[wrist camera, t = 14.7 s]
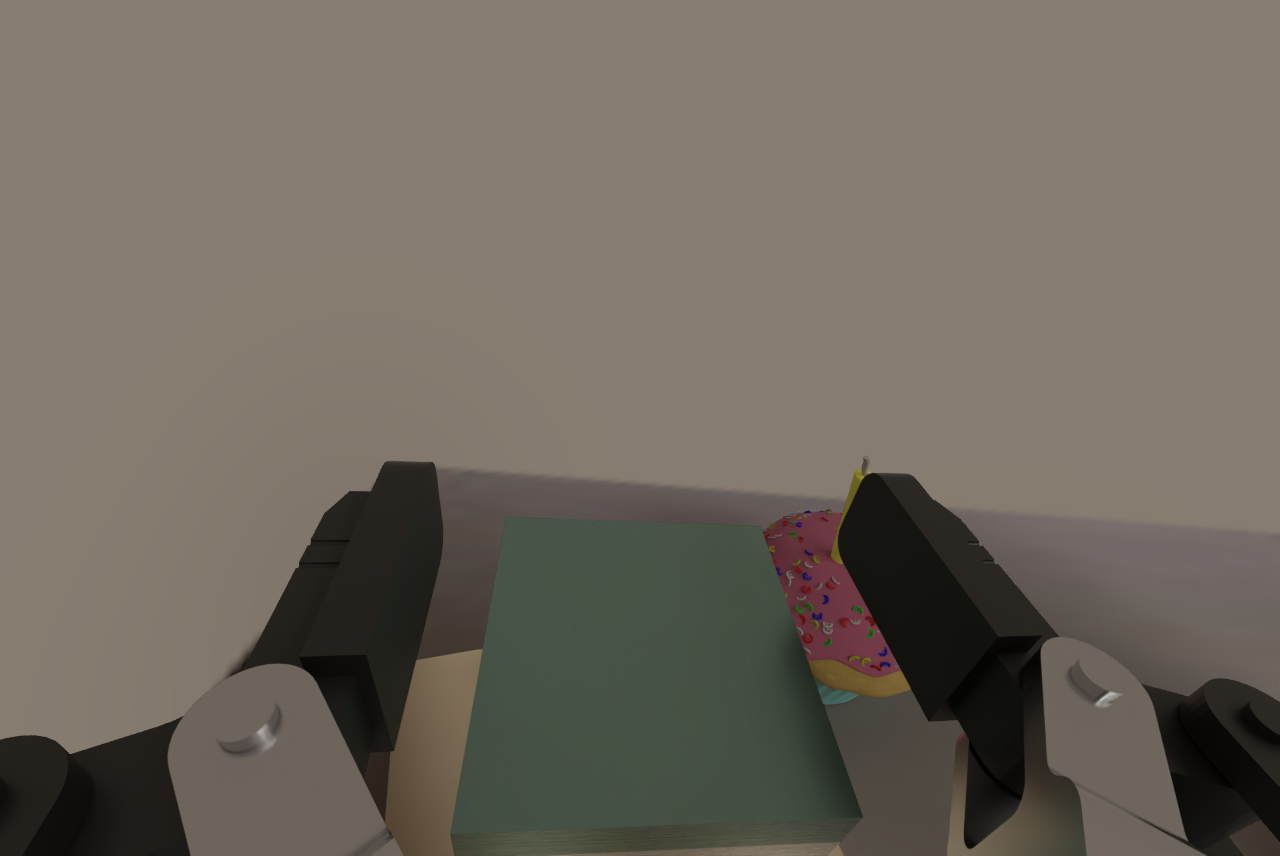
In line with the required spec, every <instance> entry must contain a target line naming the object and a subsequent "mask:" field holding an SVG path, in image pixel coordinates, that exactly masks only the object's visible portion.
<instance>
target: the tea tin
mask: <svg viewBox="0 0 1280 856" xmlns="http://www.w3.org/2000/svg"><path fill="white" fill-rule="evenodd" d="M862 818H863V816H862V813H861V810H860V807H859V805H858V802H857V799H856V796H855V793H854V790H853V788H852V785H851V782H850V779H849V776H848V773H847V770H846V768H845V765H844V762H843V759H842V756H841V753H840V751H839V748H838V745H837V742H836V739H835V736H834V734H833V731H832V728H831V725H830V722H829V719H828V716H827V714H826V711H825V708H824V705H823V702H822V699H821V697H820V694H819V691H818V688H817V685H816V682H815V680H814V677H813V674H812V671H811V668H810V665H809V662H808V660H807V657H806V654H805V651H804V648H803V645H802V643H801V640H800V637H799V634H798V631H797V628H796V625H795V623H794V620H793V617H792V614H791V611H790V608H789V606H788V603H787V600H786V597H785V594H784V591H783V589H782V586H781V583H780V580H779V577H778V574H777V571H776V569H775V566H774V563H773V560H772V557H771V554H770V552H769V549H768V546H767V543H766V540H765V537H764V535H763V532H762V529H761V526H738V525H711V524H685V523H658V522H631V521H604V520H577V519H550V518H523V517H506V519H505V525H504V531H503V536H502V542H501V548H500V553H499V559H498V565H497V570H496V576H495V582H494V587H493V593H492V599H491V604H490V610H489V616H488V621H487V627H486V633H485V638H484V644H483V650H482V655H481V661H480V667H479V672H478V678H477V684H476V689H475V695H474V701H473V706H472V712H471V718H470V723H469V729H468V735H467V740H466V746H465V752H464V757H463V763H462V769H461V775H460V780H459V786H458V792H457V797H456V803H455V809H454V814H453V820H452V826H451V831H450V837H451V842H452V847H453V852H454V856H828V855H829V854H830V853H831V852H832V850H833V849H834V848H835V847H836V846H837V845H838V844H839V843H840V842H841V841H842V840H843V838H844V837H845V836H846V835H847V834H848V833H849V832H850V831H851V830H852V829H853V828H854V827H855V825H856V824H857V823H858V822H859V821H860V820H861V819H862Z"/></svg>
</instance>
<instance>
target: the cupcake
mask: <svg viewBox="0 0 1280 856" xmlns="http://www.w3.org/2000/svg"><path fill="white" fill-rule="evenodd" d="M863 459H864V461H863V464H862V469H858V470H856V471H855V473H854V476H853V480H852V483H851V487H850V490H849V494H848V497H847V501H846V504H845V508H844V511H843V513H836V512H833V511H832V510H831V509H827V510H826V512H825V511H820V512H810V511H806V512H804V513H800V512H799V511H798V512H797V513H796V515H794V514H790V515H791V516H785V517H783V519H780V520H779V521H777V522H775V523H774V524H770V525H769V527H768V528H767V529H766V530H762V532H763V535H764V537H765V540H766V543H767V546H768V549H769V552H770V554H771V557H772V560H773V563H774V566H775V569H776V571H777V574H778V577H779V580H780V583H781V586H782V589H783V591H784V594H785V597H786V600H787V603H788V606H789V608H790V611H791V614H792V617H793V620H794V623H795V625H796V628H797V631H798V634H799V637H800V640H801V643H802V645H803V648H804V651H805V654H806V657H807V660H808V662H809V665H810V668H811V671H812V674H813V677H814V680H815V682H816V685H817V688H818V691H819V694H820V697H821V699H822V702H823V704H828V705H832V704H841V703H844V702H847V701H849V700H851V699H853V698H855V697H857V696H859V695H863V696H868V697H874V698H882V697H889V696H892V695H896V694H900V693H903V692H906V691H908V690H910V689H911V688H910V686H909V684H908V682H907V680H906V679H905V677H904V675H903V673H902V671H901V669H900V667H899V666H898V664H897V662H896V660H895V658H894V656H893V654H892V653H891V651H890V649H889V647H888V645H887V643H886V642H885V640H884V638H883V636H882V634H881V632H880V630H879V629H878V627H877V625H876V623H875V621H874V619H873V617H872V616H871V614H870V612H869V610H868V608H867V606H866V604H865V603H864V601H863V599H862V597H861V595H860V593H859V591H858V590H857V588H856V586H855V584H854V582H853V580H852V578H851V577H850V575H849V573H848V571H847V569H846V567H845V566H844V564H843V562H842V560H841V557H840V554H839V550H838V533H839V529H840V527H841V524H842V522H843V520H844V518H845V516H846V514H847V511H848V509H849V507H850V505H851V503H852V500H853V498H854V496H855V494H856V492H857V490H858V487H859V485H860V483H861V481H862V479H863V478H864V477H865V476H866V475H867V474H869V473H872V472H870V471H869V470H868V467H869V463H870V459H869V457H868V456H864V458H863ZM828 511H830V512H828Z"/></svg>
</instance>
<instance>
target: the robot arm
mask: <svg viewBox="0 0 1280 856" xmlns="http://www.w3.org/2000/svg"><path fill="white" fill-rule="evenodd" d="M442 546H443V523H442V515H441V507H440V499H439V490H438V482H437V474H436V468H435V465H434V463H433V462H404V461H403V462H402V461H387V462H385V463H384V465H383V466H382V468H381V470H380V473H379V475H378V477H377V479H376V482H375V484H374V486H373V489H372V491H371V492H368V491H349V492H348V493H347V494H346V495H345V496H344V497H343V498H341V499H340V500H339V501H338V502H337V503H336V504H335V505H334V506H332V507H331V508H330V509H329V510H328V511H327V512H325V513H324V515H323V517H322V519H321V521H320V523H319V525H318V527H317V529H316V531H315V533H314V534H313V537H312V538H311V544H310V545H308V546H307V548H306V550H305V552H304V554H303V556H302V558H301V560H300V562H299V568H296V569H295V571H294V573H293V575H292V577H291V579H290V581H289V583H288V585H287V587H286V589H285V590H284V593H283V594H282V597H281V598H280V600H279V602H278V604H277V606H276V608H275V610H274V612H273V614H272V616H271V617H270V619H269V621H268V623H267V625H266V627H265V629H264V631H263V633H262V635H261V637H260V639H259V641H258V643H257V645H256V646H255V648H254V650H253V652H252V654H251V656H250V658H249V659H248V661H247V663H246V664H245V666H244V667H243V669H242V670H241V671H240V673H237V674H235V675H233V676H231V677H229V678H227V679H226V680H224V681H222V682H220V683H219V684H217V685H216V686H214V687H213V688H212V689H210V690H209V691H208V692H206V693H205V694H204V695H203V696H202V697H201V698H200V699H198V700H197V701H196V702H195V703H194V705H193V706H192V707H191V708H190V709H189V710H188V711H187V712H186V714H185V715H184V716H183V717H180V718H179V719H176V720H174V721H172V722H169V723H166V724H164V725H161V726H158V727H155V728H152V729H149V730H146V731H143V732H140V733H136V734H133V735H130V736H127V737H124V738H121V739H117V740H114V741H111V742H108V743H105V744H101V745H98V746H95V747H92V748H89V749H86V750H83V751H79V752H76V753H73V754H69V753H68V752H67V751H66V750H65V749H64V748H63V747H62V746H61V745H60V744H58V743H57V742H56V741H54V740H52V739H49V738H47V737H42V736H35V735H33V736H32V735H30V736H17V737H10V738H5V739H2V740H0V856H403V854H402V852H401V850H400V848H399V846H398V844H397V842H396V840H395V838H394V837H393V835H392V833H391V832H390V831H389V830H388V828H387V826H386V824H385V822H384V821H383V819H382V817H381V815H380V813H379V810H378V808H377V806H376V804H375V802H374V800H373V798H372V796H371V794H370V792H369V790H368V788H367V786H366V784H365V782H364V779H363V778H364V774H365V771H366V767H367V764H368V760H369V756H370V753H371V752H387V751H394V750H395V745H396V741H397V737H398V733H399V729H400V725H401V721H402V717H403V713H404V709H405V704H406V700H407V696H408V692H409V688H410V684H411V680H412V676H413V672H414V667H415V663H416V659H417V655H418V651H419V647H420V643H421V639H422V635H423V631H424V626H425V622H426V618H427V614H428V610H429V606H430V602H431V598H432V594H433V589H434V585H435V581H436V577H437V573H438V569H439V565H440V560H441V555H442ZM838 550H839V554H840V557H841V560H842V562H843V564H844V566H845V567H846V569H847V571H848V573H849V575H850V577H851V578H852V580H853V582H854V584H855V586H856V588H857V590H858V591H859V593H860V595H861V597H862V599H863V601H864V603H865V604H866V606H867V608H868V610H869V612H870V614H871V616H872V617H873V619H874V621H875V623H876V625H877V627H878V629H879V630H880V632H881V634H882V636H883V638H884V640H885V642H886V643H887V645H888V647H889V649H890V651H891V653H892V654H893V656H894V658H895V660H896V662H897V664H898V666H899V667H900V669H901V671H902V673H903V675H904V677H905V679H906V680H907V682H908V684H909V686H910V688H911V690H912V692H913V693H914V695H915V697H916V699H917V701H918V703H919V705H920V706H921V708H922V710H923V712H924V714H925V716H926V718H927V719H928V721H929V722H932V721H948V720H958V721H959V723H960V725H961V726H962V728H963V730H964V732H963V733H962V734H961V735H960V736H959V738H958V740H957V744H956V752H955V765H954V777H953V790H952V802H951V814H950V827H949V839H948V849H947V855H946V856H1243V855H1242V853H1241V852H1240V851H1239V849H1238V848H1237V847H1236V846H1235V844H1234V843H1233V842H1232V841H1231V839H1230V838H1229V837H1228V836H1230V835H1232V834H1234V833H1236V832H1237V831H1239V830H1241V829H1243V828H1245V827H1247V826H1249V825H1251V824H1252V823H1254V822H1256V821H1258V820H1260V819H1261V820H1262V822H1263V823H1264V824H1265V825H1266V826H1267V827H1268V829H1269V830H1270V831H1271V832H1272V833H1273V834H1274V836H1275V837H1276V838H1277V839H1278V840H1279V841H1280V702H1279V701H1277V700H1275V699H1274V698H1272V697H1270V696H1269V695H1267V694H1265V693H1263V692H1261V691H1259V690H1258V689H1255V688H1253V687H1251V686H1249V685H1246V684H1243V683H1240V682H1238V681H1234V680H1230V679H1222V678H1218V679H1212V680H1210V681H1208V682H1207V683H1205V684H1204V685H1203V686H1202V687H1200V688H1199V689H1198V690H1196V691H1195V692H1194V693H1193V694H1191V695H1190V696H1189V697H1188V696H1184V695H1181V694H1177V693H1173V692H1169V691H1165V690H1162V689H1158V688H1154V687H1150V686H1147V685H1143V684H1141V683H1140V682H1139V681H1138V680H1137V679H1136V678H1135V676H1134V675H1133V674H1131V673H1130V672H1129V671H1128V670H1127V669H1126V668H1125V667H1124V666H1123V665H1121V664H1120V663H1119V662H1118V661H1116V660H1115V659H1114V658H1112V657H1111V656H1109V655H1108V654H1106V653H1105V652H1103V651H1101V650H1100V649H1098V648H1096V647H1094V646H1092V645H1090V644H1087V643H1085V642H1082V641H1079V640H1076V639H1072V638H1066V637H1059V636H1058V635H1057V634H1056V633H1055V631H1054V630H1053V629H1052V628H1051V627H1050V625H1049V624H1048V623H1047V622H1046V621H1045V619H1044V618H1043V617H1042V616H1041V615H1040V614H1039V612H1038V611H1037V610H1036V609H1035V608H1034V606H1033V605H1032V604H1031V603H1030V602H1029V600H1028V599H1027V598H1026V597H1025V596H1024V594H1023V593H1022V592H1021V591H1020V590H1019V588H1018V587H1017V586H1016V585H1015V584H1014V583H1013V581H1012V580H1011V579H1010V578H1009V577H1008V575H1007V574H1006V573H1005V572H1004V571H1003V569H1002V568H1001V567H1000V566H999V565H998V564H994V559H993V557H992V556H991V555H990V554H989V553H988V552H987V550H986V549H985V548H984V547H983V546H979V541H978V540H977V538H976V537H975V536H974V535H973V534H972V532H971V531H970V530H969V529H968V528H967V526H966V525H965V524H964V523H963V522H962V520H961V519H959V518H958V517H957V516H955V515H954V514H953V513H951V512H950V511H949V510H947V509H946V508H945V507H943V506H942V505H941V504H939V503H938V502H936V501H935V500H933V499H932V498H931V497H930V496H929V494H928V493H927V492H926V491H925V489H924V488H923V487H922V486H921V485H920V483H919V482H918V481H917V480H916V479H915V478H914V477H913V476H912V475H909V474H897V473H894V474H893V473H869V474H867V475H866V476H865V477H864V478H863V479H862V481H861V483H860V485H859V487H858V490H857V492H856V494H855V496H854V498H853V500H852V503H851V505H850V507H849V509H848V511H847V514H846V516H845V518H844V520H843V522H842V524H841V527H840V529H839V533H838Z"/></svg>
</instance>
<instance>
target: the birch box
mask: <svg viewBox="0 0 1280 856" xmlns="http://www.w3.org/2000/svg"><path fill="white" fill-rule="evenodd" d="M482 650H483V649H478V650H472V651H466V652H461V653H455V654H449V655H443V656H437V657H431V658H426V659H420V660H416V663H415V667H414V672H413V676H412V680H411V684H410V688H409V692H408V696H407V700H406V704H405V709H404V713H403V717H402V721H401V725H400V729H399V733H398V737H397V741H396V745H395V750H394V751H391V752H390V764H389V777H388V789H387V801H386V813H385V824H386V826H387V828H388V830H389V831H390V832H391V833H392V835H393V837H394V838H395V840H396V842H397V844H398V846H399V848H400V850H401V852H402V854H403V856H454V852H453V847H452V842H451V837H450V831H451V826H452V820H453V814H454V809H455V803H456V797H457V792H458V786H459V780H460V775H461V769H462V763H463V757H464V752H465V746H466V740H467V735H468V729H469V723H470V718H471V712H472V706H473V701H474V695H475V689H476V684H477V678H478V672H479V667H480V661H481V655H482ZM828 856H844V855H843V853H842V850H841V848H840V846H839V844H838V845H837V846H836V847H835V848H834V849H833V850H832V852H831V853H830V854H829V855H828Z"/></svg>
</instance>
